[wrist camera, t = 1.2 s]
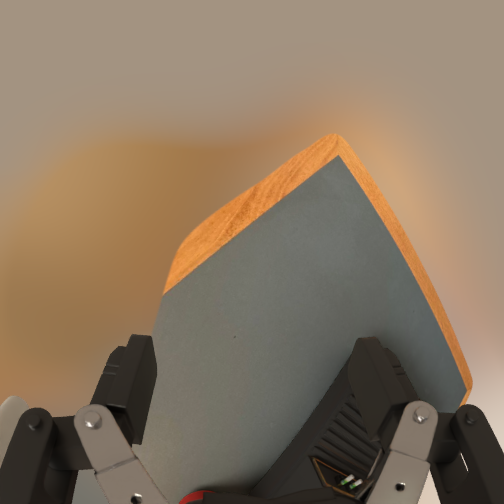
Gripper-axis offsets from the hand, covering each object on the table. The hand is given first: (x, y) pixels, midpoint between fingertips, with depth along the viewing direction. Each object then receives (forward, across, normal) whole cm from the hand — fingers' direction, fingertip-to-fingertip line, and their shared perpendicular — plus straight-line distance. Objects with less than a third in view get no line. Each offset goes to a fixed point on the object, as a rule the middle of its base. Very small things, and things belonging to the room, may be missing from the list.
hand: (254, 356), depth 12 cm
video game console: (+14, -17, +36) cm, 43 cm away
